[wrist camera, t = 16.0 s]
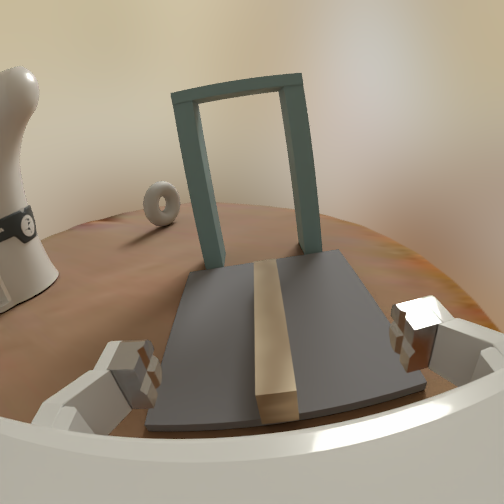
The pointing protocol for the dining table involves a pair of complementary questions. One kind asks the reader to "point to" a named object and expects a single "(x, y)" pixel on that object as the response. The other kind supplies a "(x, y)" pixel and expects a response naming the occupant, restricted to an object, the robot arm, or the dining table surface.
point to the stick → (272, 349)
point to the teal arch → (296, 147)
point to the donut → (152, 203)
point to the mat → (300, 338)
